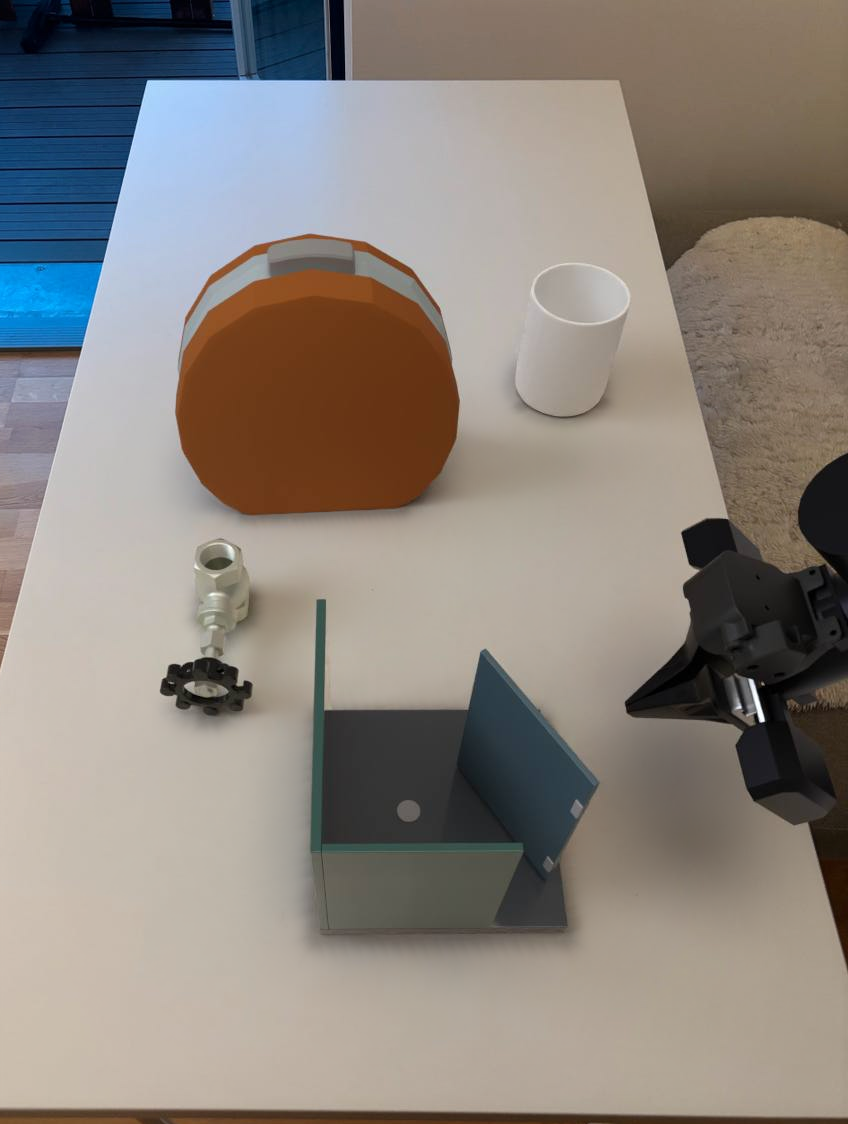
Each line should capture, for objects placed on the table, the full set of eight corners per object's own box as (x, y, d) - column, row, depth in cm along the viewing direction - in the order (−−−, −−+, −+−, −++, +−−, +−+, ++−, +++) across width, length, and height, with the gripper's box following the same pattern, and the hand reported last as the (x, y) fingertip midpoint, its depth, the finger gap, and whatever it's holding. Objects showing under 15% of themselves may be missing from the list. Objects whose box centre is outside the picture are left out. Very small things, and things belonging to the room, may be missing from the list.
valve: (190, 585, 75) (167, 714, 68) (177, 533, 69) (150, 668, 63) (271, 588, 75) (255, 718, 68) (264, 536, 69) (246, 672, 63)
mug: (582, 333, 92) (607, 236, 84) (613, 416, 86) (642, 321, 77) (499, 339, 92) (514, 242, 83) (523, 423, 85) (542, 327, 76)
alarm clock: (437, 425, 85) (460, 193, 66) (449, 505, 80) (479, 278, 61) (198, 435, 84) (152, 202, 65) (195, 517, 79) (143, 290, 60)
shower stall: (537, 716, 68) (578, 598, 56) (564, 932, 60) (620, 851, 47) (323, 717, 68) (316, 598, 56) (319, 934, 60) (309, 852, 47)
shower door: (476, 752, 65) (504, 637, 52) (565, 866, 61) (620, 769, 48) (454, 765, 64) (478, 651, 52) (543, 881, 60) (593, 787, 47)
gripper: (769, 415, 51) (538, 543, 60) (875, 713, 40) (577, 812, 50) (848, 509, 57) (629, 611, 66) (956, 785, 47) (680, 860, 56)
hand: (628, 710), depth 59 cm, fingers closed
